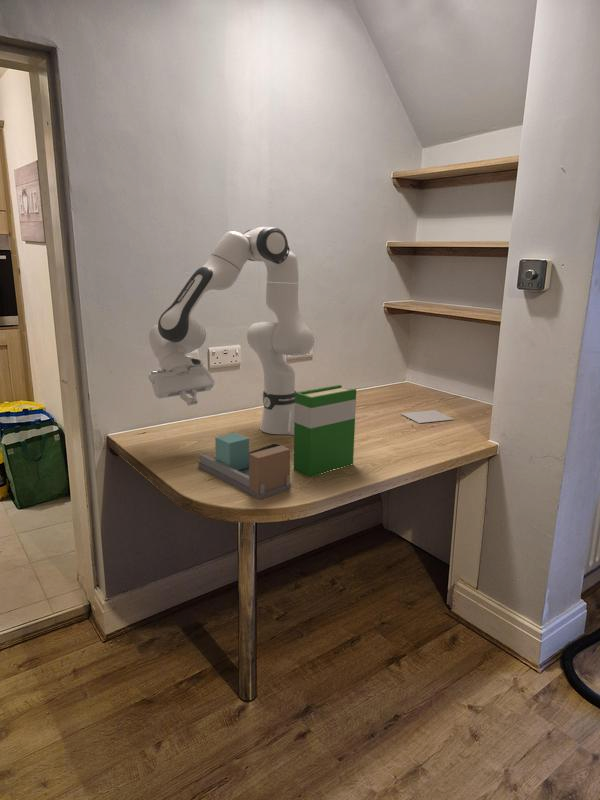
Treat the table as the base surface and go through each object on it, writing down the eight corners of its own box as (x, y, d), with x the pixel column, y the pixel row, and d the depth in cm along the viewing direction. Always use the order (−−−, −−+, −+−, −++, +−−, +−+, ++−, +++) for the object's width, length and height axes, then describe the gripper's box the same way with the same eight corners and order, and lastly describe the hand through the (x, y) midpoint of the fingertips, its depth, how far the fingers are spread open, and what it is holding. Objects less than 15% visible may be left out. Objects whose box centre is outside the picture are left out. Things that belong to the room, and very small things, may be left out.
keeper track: (228, 459, 180) (227, 424, 177) (290, 488, 159) (291, 449, 156) (198, 467, 173) (197, 430, 170) (259, 499, 152) (259, 458, 149)
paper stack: (470, 427, 219) (470, 425, 219) (413, 434, 210) (414, 432, 209) (434, 411, 240) (434, 410, 240) (382, 416, 231) (382, 415, 230)
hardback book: (336, 457, 183) (339, 384, 177) (353, 464, 178) (356, 389, 172) (293, 469, 173) (294, 392, 166) (309, 477, 167) (311, 397, 161)
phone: (291, 448, 189) (260, 460, 177) (291, 452, 189) (260, 464, 178) (274, 443, 193) (242, 454, 182) (274, 446, 194) (242, 458, 183)
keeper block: (235, 460, 174) (234, 432, 172) (249, 467, 169) (249, 438, 167) (215, 466, 169) (215, 437, 167) (229, 473, 164) (229, 443, 162)
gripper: (149, 366, 176) (166, 403, 171) (206, 359, 189) (223, 393, 185) (143, 378, 180) (160, 414, 176) (199, 370, 194) (216, 404, 189)
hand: (193, 403), depth 180 cm, fingers closed
